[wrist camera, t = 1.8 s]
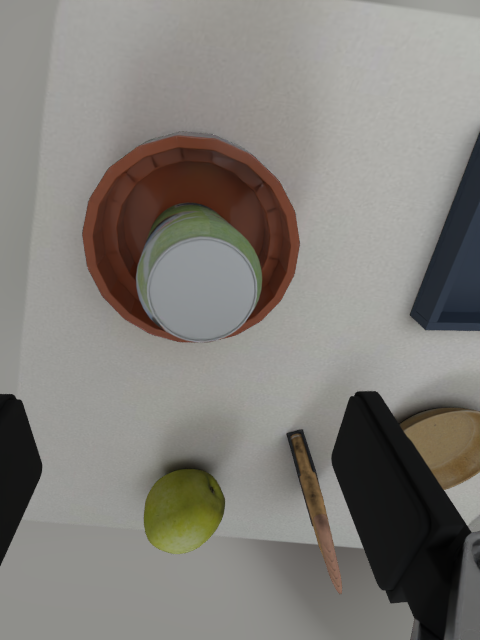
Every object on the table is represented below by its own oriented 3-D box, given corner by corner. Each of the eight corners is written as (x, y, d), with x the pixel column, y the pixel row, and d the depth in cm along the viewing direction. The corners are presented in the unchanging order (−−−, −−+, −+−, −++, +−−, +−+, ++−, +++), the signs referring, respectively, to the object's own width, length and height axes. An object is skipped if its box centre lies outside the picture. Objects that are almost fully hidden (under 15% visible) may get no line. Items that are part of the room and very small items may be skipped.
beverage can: (141, 264, 26) (105, 360, 16) (167, 167, 23) (141, 209, 13) (219, 288, 28) (231, 388, 18) (253, 200, 25) (292, 261, 14)
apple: (131, 475, 39) (116, 551, 33) (194, 441, 37) (193, 513, 31) (174, 504, 43) (169, 578, 36) (234, 474, 41) (241, 546, 34)
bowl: (91, 123, 21) (64, 125, 17) (295, 140, 23) (317, 146, 19) (113, 307, 28) (98, 342, 24) (271, 310, 30) (283, 343, 26)
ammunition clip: (315, 483, 44) (350, 595, 34) (301, 486, 44) (332, 600, 34) (302, 429, 38) (340, 544, 28) (286, 433, 38) (317, 549, 28)
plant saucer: (382, 490, 46) (391, 509, 44) (351, 426, 39) (361, 445, 37) (491, 450, 44) (507, 468, 42) (481, 374, 37) (499, 391, 34)
